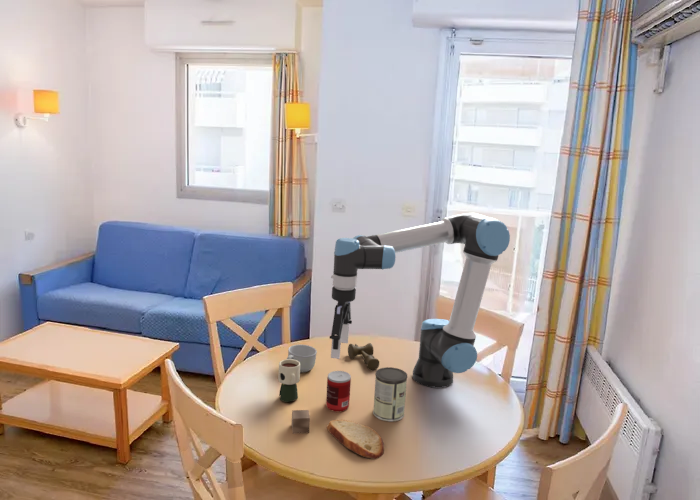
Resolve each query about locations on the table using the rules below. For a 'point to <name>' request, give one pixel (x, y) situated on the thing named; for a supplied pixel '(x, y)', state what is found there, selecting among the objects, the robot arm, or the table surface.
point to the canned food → (338, 391)
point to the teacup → (303, 356)
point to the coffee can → (390, 394)
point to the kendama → (364, 355)
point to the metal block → (300, 421)
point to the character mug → (289, 379)
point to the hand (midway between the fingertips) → (339, 350)
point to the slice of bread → (357, 438)
